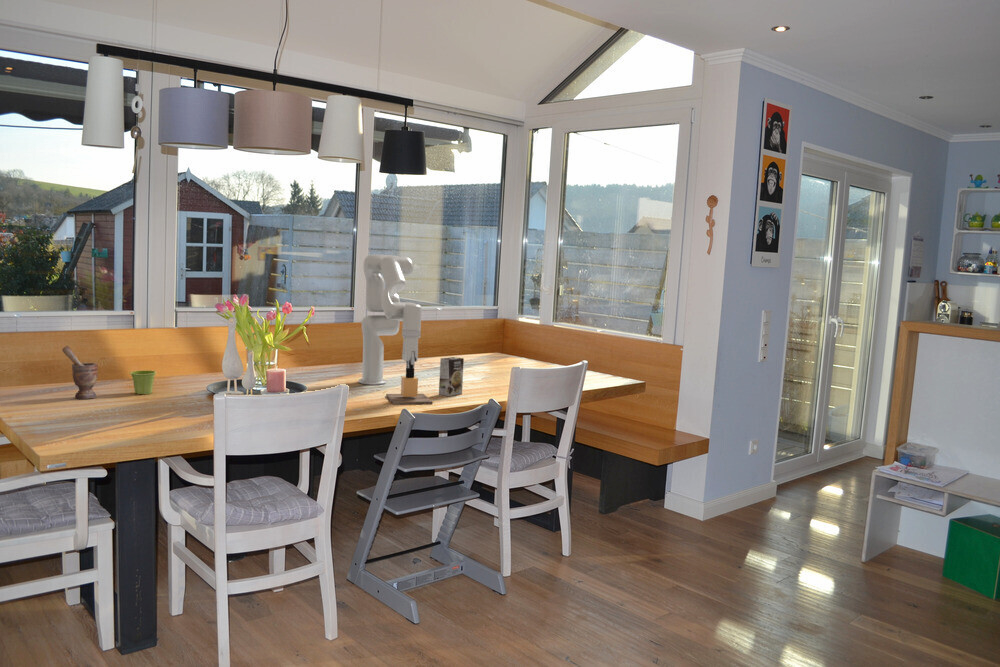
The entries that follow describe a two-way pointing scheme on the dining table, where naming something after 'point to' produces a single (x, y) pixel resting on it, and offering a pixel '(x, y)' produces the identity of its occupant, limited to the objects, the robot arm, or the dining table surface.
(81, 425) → the dining table surface
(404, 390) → the light brown block
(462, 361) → the coffee box
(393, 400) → the post board
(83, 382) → the mortar and pestle
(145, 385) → the plant pot
